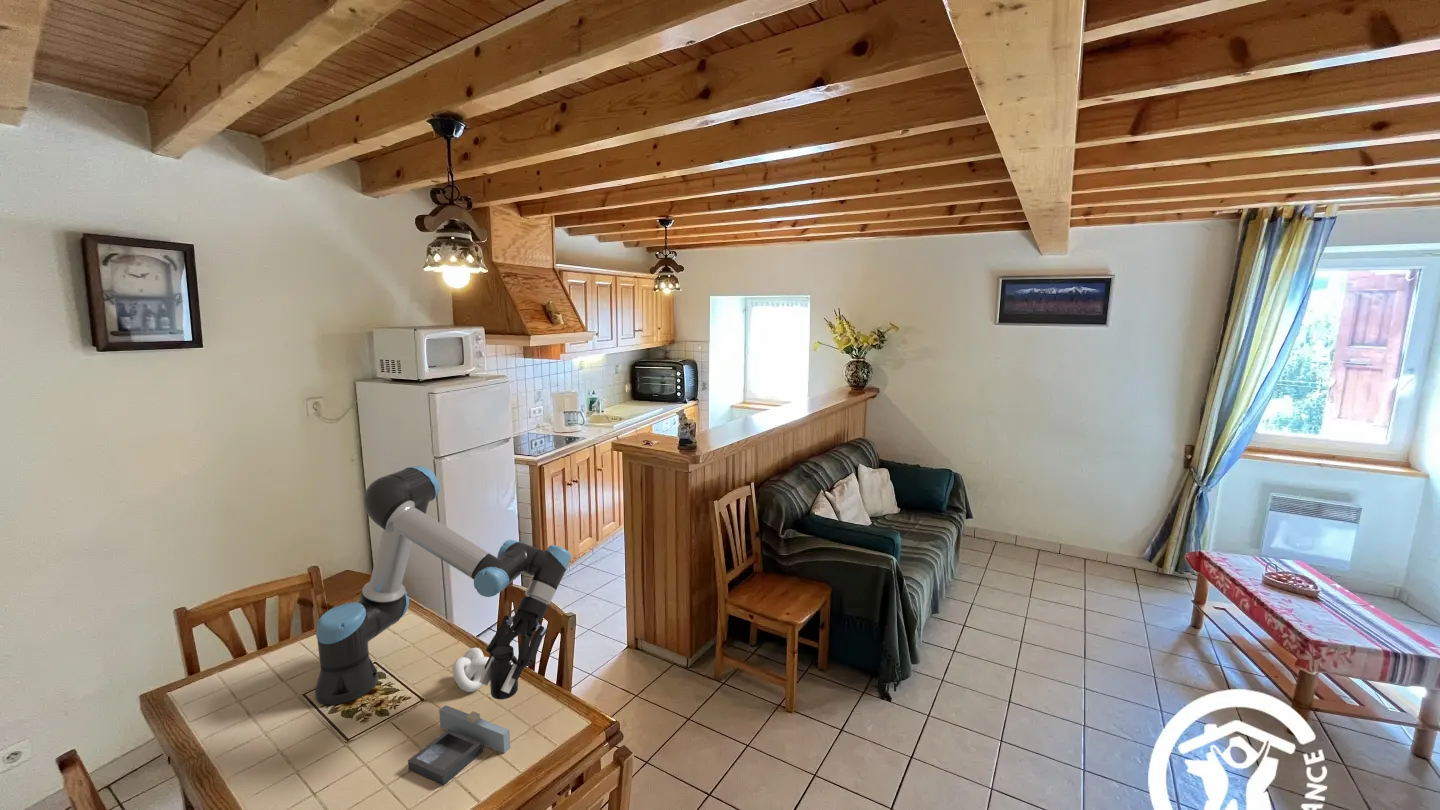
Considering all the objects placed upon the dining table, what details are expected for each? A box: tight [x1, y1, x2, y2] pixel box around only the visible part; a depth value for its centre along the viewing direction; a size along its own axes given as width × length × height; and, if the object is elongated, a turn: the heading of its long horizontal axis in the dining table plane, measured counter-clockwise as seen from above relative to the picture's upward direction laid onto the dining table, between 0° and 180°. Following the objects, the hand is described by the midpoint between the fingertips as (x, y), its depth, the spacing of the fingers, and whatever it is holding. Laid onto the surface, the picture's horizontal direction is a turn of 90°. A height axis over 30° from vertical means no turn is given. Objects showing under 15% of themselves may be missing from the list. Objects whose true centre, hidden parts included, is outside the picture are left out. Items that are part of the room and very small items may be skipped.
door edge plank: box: [438, 704, 511, 754], centre depth 143 cm, size 22×2×6 cm, turn 66°
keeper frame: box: [407, 729, 484, 787], centre depth 136 cm, size 12×12×2 cm
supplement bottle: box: [489, 644, 519, 701], centre depth 147 cm, size 7×7×12 cm
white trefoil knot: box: [452, 647, 490, 693], centre depth 165 cm, size 11×12×9 cm
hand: (494, 687), depth 144 cm, fingers closed on supplement bottle, 7 cm apart
